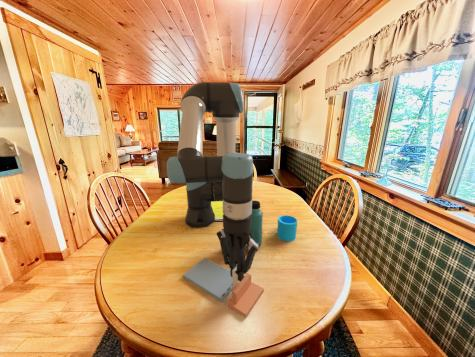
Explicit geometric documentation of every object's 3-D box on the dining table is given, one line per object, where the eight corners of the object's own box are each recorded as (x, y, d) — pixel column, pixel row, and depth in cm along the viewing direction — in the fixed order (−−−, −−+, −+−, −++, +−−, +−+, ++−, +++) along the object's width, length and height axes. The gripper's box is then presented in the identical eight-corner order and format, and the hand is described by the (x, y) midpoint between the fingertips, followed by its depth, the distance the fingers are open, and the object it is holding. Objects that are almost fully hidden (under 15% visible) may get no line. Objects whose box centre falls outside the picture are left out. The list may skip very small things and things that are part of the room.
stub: (227, 306, 53) (227, 292, 52) (246, 282, 61) (246, 270, 60) (246, 318, 50) (246, 303, 49) (263, 291, 58) (264, 278, 57)
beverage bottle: (263, 244, 81) (265, 199, 75) (259, 254, 75) (261, 206, 69) (248, 241, 83) (249, 197, 77) (243, 250, 77) (244, 204, 71)
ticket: (183, 277, 63) (183, 274, 63) (204, 260, 71) (204, 257, 71) (221, 302, 54) (221, 298, 54) (241, 279, 62) (241, 275, 62)
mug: (297, 241, 82) (299, 224, 80) (278, 241, 83) (279, 224, 80) (291, 226, 94) (292, 211, 92) (274, 226, 94) (275, 211, 92)
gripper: (208, 212, 51) (211, 285, 57) (251, 227, 43) (249, 308, 50) (226, 203, 56) (227, 269, 63) (266, 214, 49) (262, 288, 56)
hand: (237, 286), depth 57 cm, fingers closed
